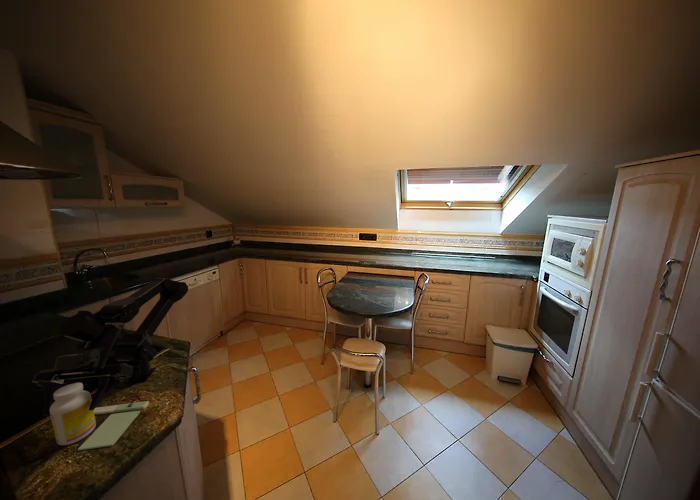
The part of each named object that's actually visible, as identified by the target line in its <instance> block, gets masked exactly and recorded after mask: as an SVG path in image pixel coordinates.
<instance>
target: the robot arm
mask: <svg viewBox="0 0 700 500" xmlns="http://www.w3.org/2000/svg"><path fill="white" fill-rule="evenodd" d="M188 291H189V285H187V283H186V282H185V281H177V280H172V279H171V278H168V277H156V278H153V279H152V280H151V281H150V282H148V283H147V284H146V285H144V286H142V287H141V288H139V289H137V290H136V291H135V292H133V293H131V294H130V295H128V296H127V297H124V298H121V299H117V300H114V301H112V302H108V303H107V304H105V305H103V306H102V307H101V309H99V310H97V311H96V312H94V313H93V312H92V311H89V310H84V309H83V310H78V312H76V314H74V315H72V316H71V315H70V316H69V317H68V318H67V319H65V320H64V321H63V322H61V323H60V325H59V326H58V332H57V333H58V334H59V335H60V336H62V337H65V338H69V339H72V340H75V341H79V342H82V343H86V344H85V346H84V347H81V348H79V349H78V350H77V351H76V353H74V354H65V355H60V356H56V359H55V365H54V368H49V369H47V368H46V369H42V370H39V372H37V373H36V374H35V375H34V377H33V379H32V381H31V383H34V384H36V386H38V387H41V388H42V390H43V393H44V394H43V396H44V401H43V410H42V411H43V412H42V415H43V416H44V417H47V416H50V407H51V405H52V404H53V403H54V402H55V400H54V396H53V394H54V392H55V391H57V390H58V389H60V388H62V387H64V386H66V385H67V384H68V382H70V381H71V380H73V379H74V380H75V379H76V380H77V379H86V378H95V377H98V386H97V389H96V390H95V393H94V395H93V398H91V400H92V402H91V404H90V407H89V410H94V409H95V408H97V407H98V406H99V405H100V404H101V402H102V401H103V400H104V399H105V398H106V397H107V396H108V395H109V394H110V393H111V392H112V391H113V389H114V388H116V387H117V386H118V385H119V384H120V383H122V382H123V384H131V383H139V382H141V383H142V382H146V381H147V380H148V379H149V378H150V377H151V376H152V375H153V374H154V373H155V371H156V370H157V367H152V364H151V361H153V360H154V358H155V357H156V356H157V351H158V349H157V348H155V347H152V344H153V341H152V339H153V338H152V337H153V335H154V334H155V332H156V330H157V329H158V328H159V327H160V325H161V323H162V321H163V320H164V318H165V317H166V315H167V314H168V313H169V311H170V310H171V308H172V306H173V305H174V304H176V303H177V302H179V301H180V300H182V299H183V298H184V297H185V296H186V294H187V293H188ZM157 295H159V298H158V300H157V301H156V303H155V305H154V306H153V307H152V309H150V311H149V313H148V314H147V315H146V317H145V318H144V319H143V321H142V322H141V323H140V325H139V326H138V328H137V329H136V330H134V332H132V333H127V332H126V329H125V328H124V326H123V325H115V324H128V323H129V322H131V321H132V320H133V319H134V318H135V317H136V316H137V315H138V314H139V312H140V309H141V307H143V306H144V305H145V304H147V303H148V302H149V301H151V300H153V298H155V296H157ZM119 335H122V337H121V339H120V340H119V342H117V343H116V341H117V339H118V337H119ZM114 346H115V348H114ZM113 349H114V350H113ZM110 356H111V357H112V356H113V358H114V359H115V361H117V363H115V362H114V363H108V360H109V357H110ZM107 363H108V364H107ZM155 369H156V370H155ZM152 373H153V374H152ZM151 374H152V375H151ZM150 375H151V376H150Z"/></svg>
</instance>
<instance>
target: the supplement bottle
mask: <svg viewBox="0 0 700 500" xmlns="http://www.w3.org/2000/svg"><path fill="white" fill-rule="evenodd" d="M91 395H92V394H91V393H90V392H89V391H88V390H84V385H83V383H82V382H73V383H69V384H66V386H64V387H62V388H60V389H58V390H57V391H55V392H54V394H53V396H54V400H55V402H54V403H53V404H52V405H51V407H50V414H49V416H50V419H51V424H52V427H53V433H54V438H55V441H56V444H57V445H59V446H68V445H71V444H75V443H77V442H79V441H81V440H82V439H84V438H86V437H87V436H88V435H90V434H91V433H93V432H94V430H95V428H96V426H97V421H96V416H95V415H94V410H89V407H90V404H91V402H92V396H91Z"/></svg>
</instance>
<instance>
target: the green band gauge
mask: <svg viewBox="0 0 700 500" xmlns="http://www.w3.org/2000/svg"><path fill="white" fill-rule="evenodd" d="M149 404H150V400H149V401H139V402H138V401H137V402H128V403H120V404H116V405H115V404H114V405H108V406H107V405H106V406H101V407H98V406H97V407H96V408H95V409H94V415H96V416H97V415H104V414H105V415H106V414H110V415H108V417H107V418H106V419H105V420H104V421H103V422H102V423H101V424H100V425H99V426H98V427H97V428H96V429H95V431H93V432H92V434H91V435H90V436H89V437H87V439H86V440H85V441H84V442H83V443H82V444H81V445H80V446H79V447H78V449H77V451H78V452H79V451H86V450H91V449H98V448H105V447H106V448H107V447H112V446H114V444H115V443H116V442H117V441H118V440H119V439H120V437H122V435H123V434H124V433H125V432H126V430H127V429H128V428H129V426H130V425H131V424H132V423H133V422H134V420H135V419H136V418H137V416H138V415H139V414H140V413H141V410H145V409H146V408H147V407H148V406H149Z"/></svg>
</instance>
